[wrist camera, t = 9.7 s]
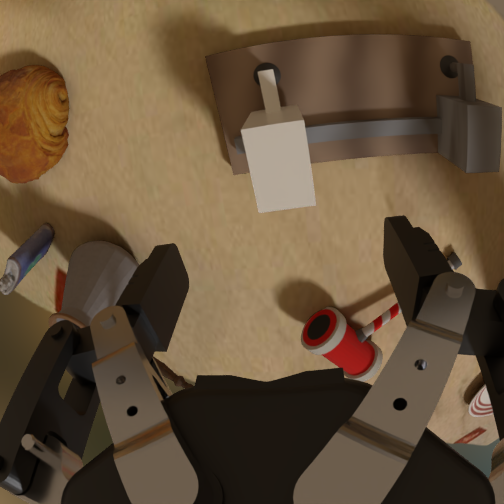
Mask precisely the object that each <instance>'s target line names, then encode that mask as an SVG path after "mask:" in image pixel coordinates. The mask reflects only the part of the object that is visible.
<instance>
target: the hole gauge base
mask: <svg viewBox="0 0 504 504" xmlns="http://www.w3.org/2000/svg"><path fill="white" fill-rule="evenodd" d="M205 58H206V62H207V66H208V70H209V74H210V78H211V83H212V87H213V91H214V95H215V99H216V103H217V108H218V112H219V116H220V120H221V124H222V128H223V133H224V137H225V141H226V145H227V149H228V153H229V158H230V162H231V166H232V170H233V174H234V175H237V174H243V173H249V172H250V170H249V165H248V161H247V156H246V152H245V147H244V143H243V138H242V134H241V128H242V127H243V125H244V123H245V122H246V120H247V118H248V117H249V115H250V113H251V112H254V111H260V110H265V105H264V100H263V95H262V91H261V86H260V81H259V76H258V72H259V71H264V70H270V69H273V71H274V76H275V81H276V86H277V91H278V96H279V101H280V106H281V107H285V106H292V105H297V106H298V108H299V110H300V112H301V115H302V117H303V119H304V123H305V129H306V136H307V142H308V149H309V156H310V163H319V162H327V161H336V160H345V159H355V158H365V157H376V156H388V155H402V154H418V153H437V152H438V153H439V154H441V155H442V156H444V157H445V158H446V159H448V160H449V161H451V162H452V163H453V164H455V165H456V166H457V167H459V168H460V169H461V170H463V171H464V172H465V173H482V172H499V167H500V153H501V132H502V107H499V106H496V105H493V104H490V103H487V102H484V101H481V100H478V99H476V92H475V77H474V66H473V61H472V53H471V45H470V41H464V40H457V39H449V38H440V37H429V36H415V35H390V34H364V35H339V36H324V37H313V38H303V39H295V40H287V41H280V42H273V43H267V44H261V45H255V46H250V47H245V48H240V49H235V50H230V51H226V52H222V53H217V54H213V55H209V56H205Z"/></svg>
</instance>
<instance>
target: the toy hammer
mask: <svg viewBox="0 0 504 504" xmlns="http://www.w3.org/2000/svg"><path fill="white" fill-rule="evenodd" d="M447 262H448V263H449V265H450V266H451V268H452V270H453V269H455V270H456V269H457V268H458V267H459V266H461V265H462V262H461V261H460V259H459V258H458V256H457V255H456V254H455V253H454V252H453V253H452V254H451V255H450V256H449V257H448V261H447ZM400 312H402V311H401V308H400V306H399V303H398V302H397V303H396V304H395V305H394V306H392V307H391V308H390V309H388V310H387V311H386V312H384V313H383V314H382V315H380V316H379V317H378V318H376V319H375V320H374V321H372V322H371V323H370V324H368V325H367V326H365V327H364V328H361V329H359V330H357V331H355V330H353V329H352V328H351V327H350V326H349V325H348V324H347V323H346V319H345V317H344V316H343V315H342V314H341V313H340V312H339V311H338V310H337V309H335V308H333V307H326V308H325V309H323V310H321V311H319V312H317V313H316V314H314V315H313V316H312V317H310V318H309V320H308V321H307V322H306V324H305V326H304V328H303V330H302V334H301V342H302V345H303V346H304V347H305V348H306V349H307V350H309V351H310V352H312V353H313V354H316V355H323V356H324V357H325V358H327V359H328V360H330V361H331V362H332V363H334V364H335V365H337V366H338V367H340V368H342V367H343V372H344V375H345V376H346V377H348V378H349V379H354V380H359V381H362V382H364V381H366V380H368V379H370V378H371V377H373V376H374V375H375V374H376V373H377V371H378V370H379V368H380V366H381V363H382V359H383V356H382V351H381V349H380V348H379V347H378V346H377V345H376V344H375V343H374V342H372V341H370V340H366V339H367V338H368V336H369V335H370V334H372V333H373V332H375V331H376V330H377V329H379V328H380V327H381V326H383V325H384V324H386V323H387V322H388V321H390V320H391V319H392V318H394V317H395V316H396V315H398V314H399V313H400Z"/></svg>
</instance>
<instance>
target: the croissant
mask: <svg viewBox="0 0 504 504" xmlns="http://www.w3.org/2000/svg"><path fill="white" fill-rule="evenodd" d="M68 113H69V99H68V93H67V89H66V87H65V82H64V79H63V78H61V77H60V76H59V75H58V74H57V73H55V72H54V71H52V70H51V69H49V68H47V67H45V66H40V65H30V66H25V67H23V68H21V69H18V70H10V71H9V72H7V73H5V74H3V75H1V76H0V175H1V176H3V177H5V178H6V179H8V180H9V181H10V182H12V183H27V182H28V181H33V180H34V179H39V177H40V176H41V175H42V174H44V173H46V171H48V170H49V169H50V168H52V167H53V166H54V165H56V164H57V163H58V162H59V160H60V159H61V157H62V155H63V153H64V152H65V150H66V148H67V146H68V142H67V138H68V136H69V134H68V130H67V128H66V127H65V125H66V124H67V121H68Z"/></svg>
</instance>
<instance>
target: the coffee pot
mask: <svg viewBox="0 0 504 504" xmlns="http://www.w3.org/2000/svg"><path fill="white" fill-rule="evenodd" d="M138 266H139V264H138V263H137V261H136V260H135V259H134V258H133V257H132V256H131V255H130V254H129V253H128V252H127V251H126V250H124V249H123V248H121V247H119V246H117V245H115V244H112V243H110V242H105V241H100V240H99V241H90V242H87V243H84V244H82V245H80V246H78V247H77V248H76V250H75V251H74V252H73V253H72V256H71V258H70V261H69V267H68V272H67V277H66V283H65V289H64V296H63V303H62V310H61V311H60V312H59V313H54V314H52V315H51V316H50V319H49V327H51V326H52V325H54V324H55V323H57V322H59V321H62V320H69V321H71V322H72V324H73V325H74V327H75V328H76V330H77V329H80V328H84V327H87V326H90V324H91V321H92V319H93V318H94V316H95V315H96V314H97V313H98V312H100V311H101V310H103V309H105V308H107V307H110V306H115V305H116V303H117V301H118V299H119V298H120V296H121V294H122V292H123V291H124V289H125V287H126V285H127V284H128V282H129V280H130V279H131V277H132V275H133V273H134V272H135V270H136V268H137V267H138ZM153 358H154V360H155V361H156V363H157V365H158V367H159V369H160V371H161V373H162V375H163V376H164V377H166V378H168V379H170V380H172V381H174V383H175V385H176V386H182V387H183V388H185V389H186V388H189V387H192V386H193V385H192V384H188V383H187V382H185V380H184V378H183V376H177V375H176V374H175V373H174V372H173V371H172V370H171V369H170V368H168V367H167V366H166V365H165V364H164V363H163V362H161V361H159V360H158V359H156V358H155V357H153Z"/></svg>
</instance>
